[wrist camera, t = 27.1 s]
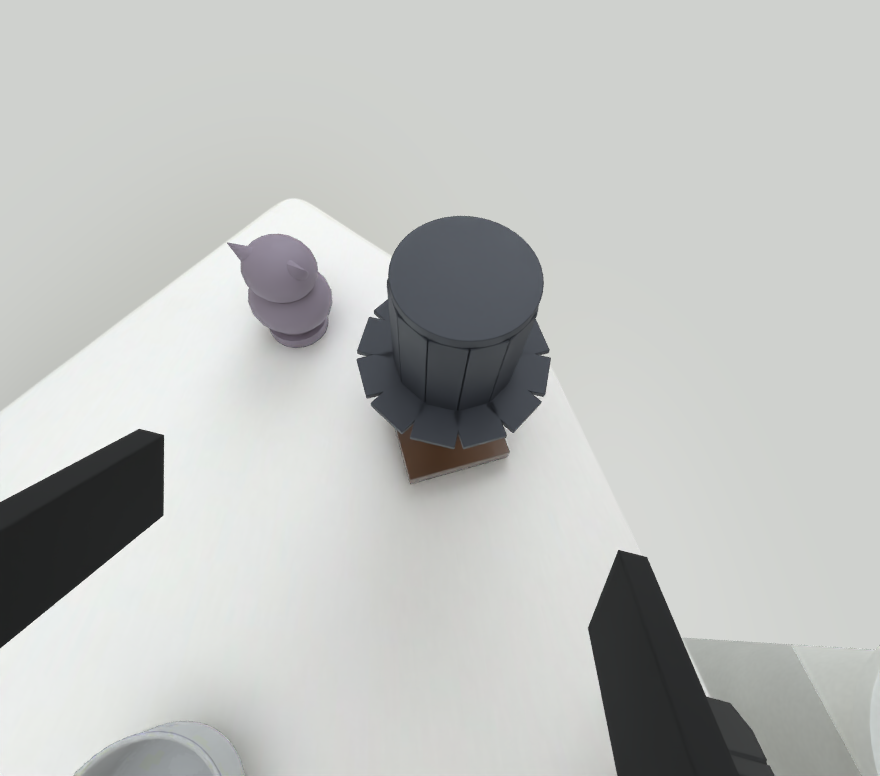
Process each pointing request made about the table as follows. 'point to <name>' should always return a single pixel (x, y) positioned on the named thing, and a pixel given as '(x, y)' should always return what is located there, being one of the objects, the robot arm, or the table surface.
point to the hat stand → (445, 456)
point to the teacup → (168, 753)
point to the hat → (457, 334)
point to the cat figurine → (285, 288)
